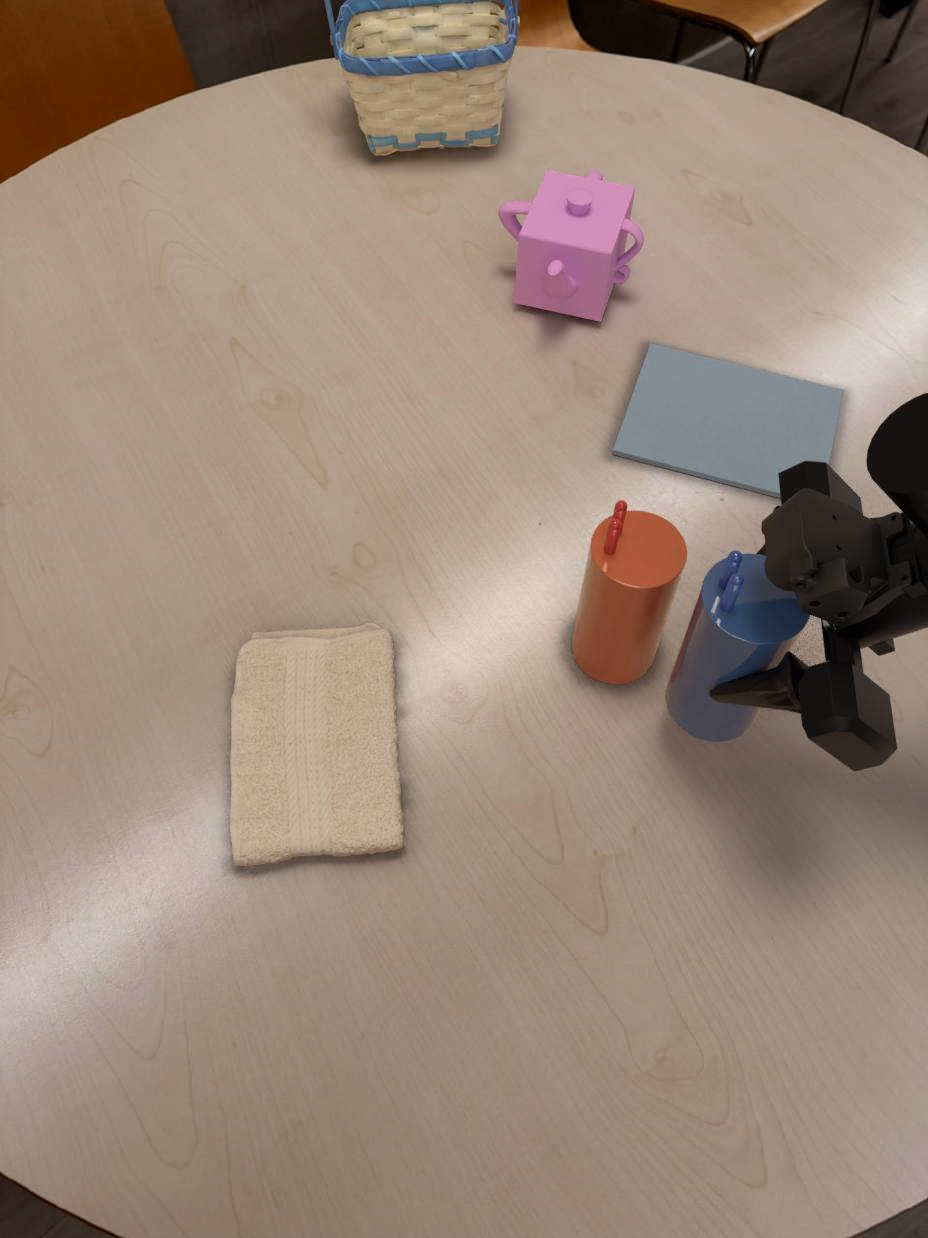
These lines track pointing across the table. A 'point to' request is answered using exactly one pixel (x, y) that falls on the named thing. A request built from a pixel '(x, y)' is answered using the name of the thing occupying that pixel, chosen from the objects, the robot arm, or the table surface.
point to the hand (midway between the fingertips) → (710, 650)
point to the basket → (426, 69)
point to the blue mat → (726, 420)
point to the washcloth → (315, 746)
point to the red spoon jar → (626, 594)
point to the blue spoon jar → (730, 645)
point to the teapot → (572, 243)
